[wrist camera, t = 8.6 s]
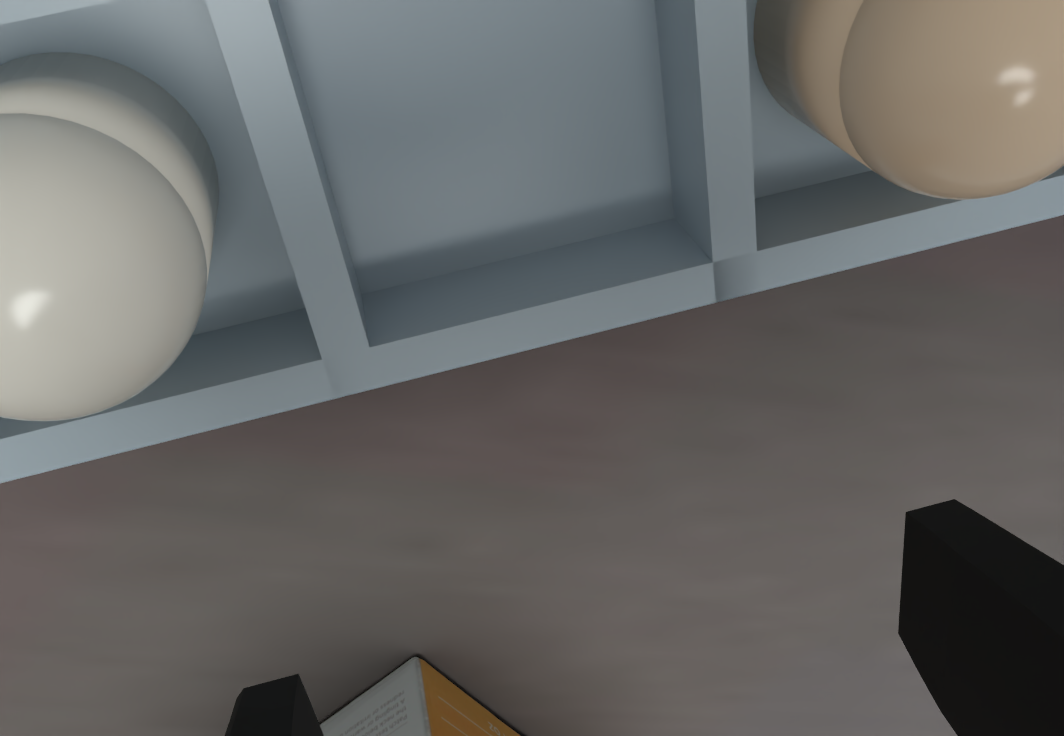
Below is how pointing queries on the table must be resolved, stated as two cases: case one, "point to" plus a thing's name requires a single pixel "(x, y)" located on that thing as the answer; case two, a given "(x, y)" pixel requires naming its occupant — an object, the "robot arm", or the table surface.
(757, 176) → the egg carton
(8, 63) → the cream egg
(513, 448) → the table surface
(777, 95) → the brown egg
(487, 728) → the small box
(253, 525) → the table surface
